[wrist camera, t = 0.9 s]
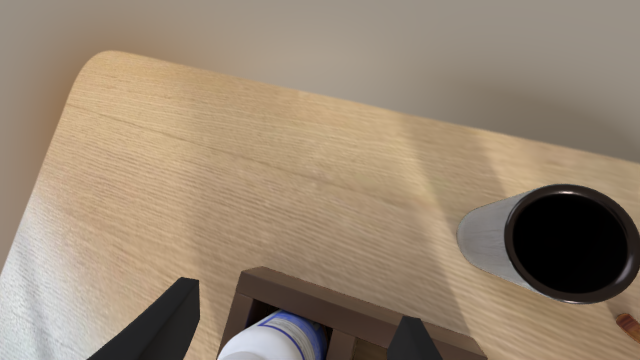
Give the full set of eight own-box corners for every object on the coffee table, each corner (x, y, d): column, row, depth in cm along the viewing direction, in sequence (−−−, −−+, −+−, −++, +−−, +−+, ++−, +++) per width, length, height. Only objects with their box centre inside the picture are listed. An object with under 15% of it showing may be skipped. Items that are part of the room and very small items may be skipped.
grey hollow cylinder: (443, 227, 22) (479, 222, 12) (498, 194, 22) (582, 161, 12) (483, 284, 21) (558, 328, 11) (543, 250, 20) (678, 265, 11)
